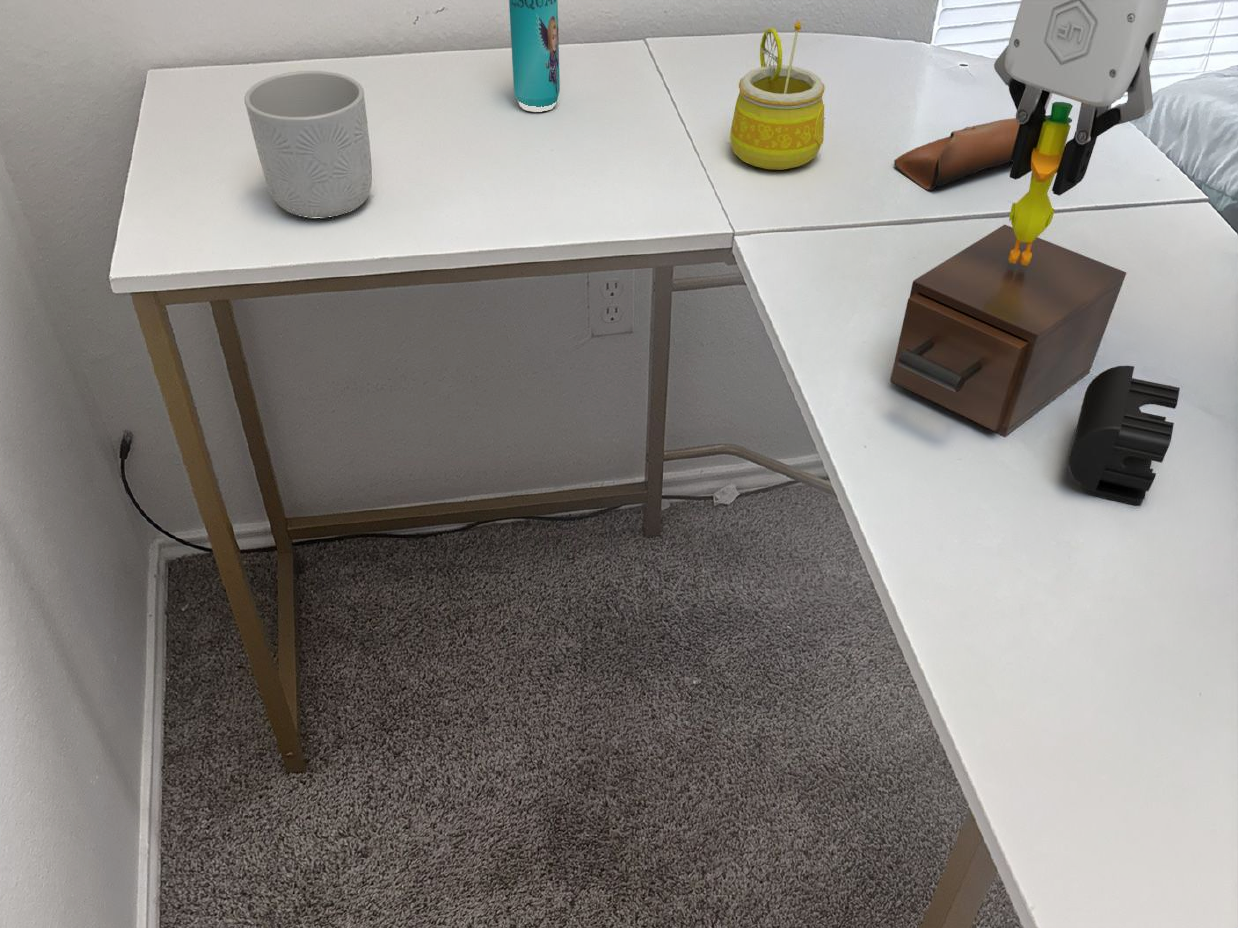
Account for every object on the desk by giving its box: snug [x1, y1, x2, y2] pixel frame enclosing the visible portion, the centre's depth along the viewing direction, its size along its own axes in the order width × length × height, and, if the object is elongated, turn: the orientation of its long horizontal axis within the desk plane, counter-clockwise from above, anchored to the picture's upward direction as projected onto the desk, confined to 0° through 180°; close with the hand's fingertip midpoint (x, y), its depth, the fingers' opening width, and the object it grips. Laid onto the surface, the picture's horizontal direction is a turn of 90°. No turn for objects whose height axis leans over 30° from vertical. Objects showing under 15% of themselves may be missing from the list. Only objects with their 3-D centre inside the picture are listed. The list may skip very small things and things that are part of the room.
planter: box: [244, 70, 373, 217], centre depth 124 cm, size 12×12×11 cm
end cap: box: [1067, 365, 1181, 506], centre depth 97 cm, size 10×7×7 cm
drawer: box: [889, 294, 1028, 432], centre depth 102 cm, size 18×11×8 cm, turn 135°
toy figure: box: [1008, 101, 1074, 265], centre depth 96 cm, size 7×4×12 cm, turn 160°
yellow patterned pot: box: [729, 21, 826, 171], centre depth 132 cm, size 13×11×12 cm
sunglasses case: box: [893, 117, 1020, 191], centre depth 133 cm, size 18×7×7 cm, turn 121°
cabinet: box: [890, 224, 1127, 437], centre depth 104 cm, size 15×13×10 cm
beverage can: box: [508, 0, 561, 107], centre depth 138 cm, size 6×6×15 cm
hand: (1043, 179), depth 95 cm, fingers closed on toy figure, 3 cm apart
